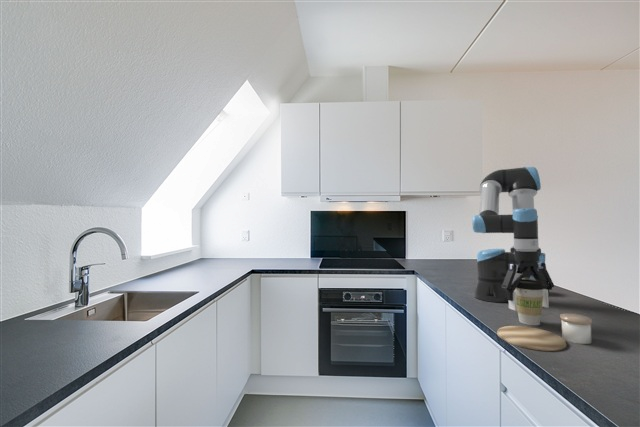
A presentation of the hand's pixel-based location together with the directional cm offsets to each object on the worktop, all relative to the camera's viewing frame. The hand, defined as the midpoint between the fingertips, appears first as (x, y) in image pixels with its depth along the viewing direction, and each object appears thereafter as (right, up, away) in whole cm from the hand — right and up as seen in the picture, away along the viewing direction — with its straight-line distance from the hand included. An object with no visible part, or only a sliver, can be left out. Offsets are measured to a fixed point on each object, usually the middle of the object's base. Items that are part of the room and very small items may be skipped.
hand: (528, 308), depth 109 cm
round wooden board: (-9, -5, -14) cm, 18 cm away
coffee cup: (0, -5, 0) cm, 6 cm away
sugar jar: (+4, -5, -15) cm, 17 cm away
